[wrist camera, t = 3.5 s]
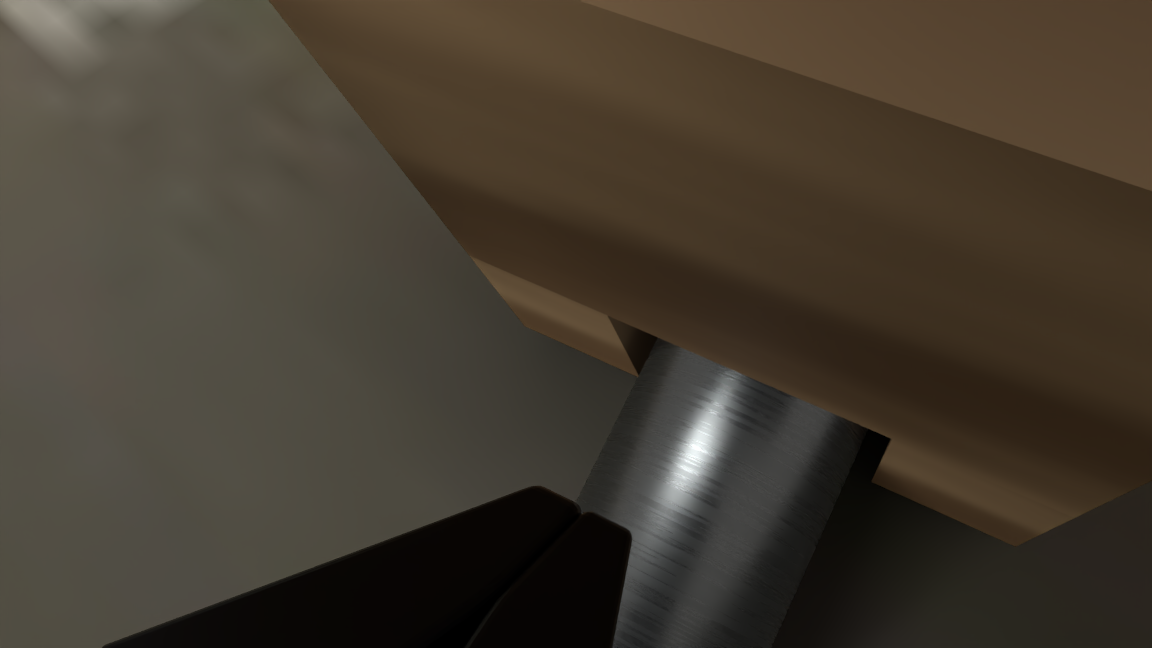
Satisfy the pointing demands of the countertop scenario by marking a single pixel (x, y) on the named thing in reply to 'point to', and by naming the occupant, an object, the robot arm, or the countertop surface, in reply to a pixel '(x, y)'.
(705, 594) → the steel pipe
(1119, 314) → the rectangular wooden block
